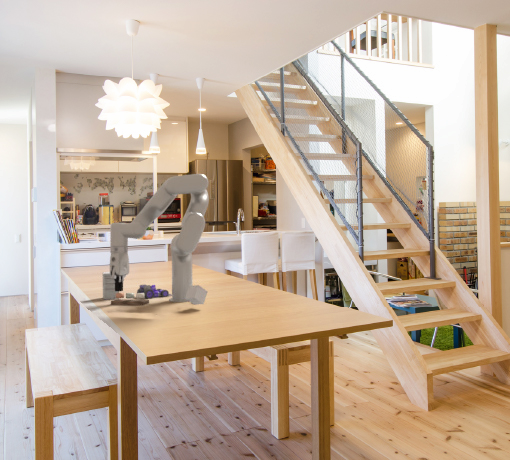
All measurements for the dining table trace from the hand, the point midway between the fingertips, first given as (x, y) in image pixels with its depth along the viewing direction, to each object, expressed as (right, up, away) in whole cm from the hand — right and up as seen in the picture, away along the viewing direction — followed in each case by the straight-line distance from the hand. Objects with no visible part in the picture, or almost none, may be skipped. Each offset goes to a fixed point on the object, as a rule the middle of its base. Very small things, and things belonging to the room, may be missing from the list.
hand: (118, 290), depth 215 cm
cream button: (+10, -3, -2) cm, 11 cm away
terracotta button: (0, -3, 0) cm, 3 cm away
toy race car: (+11, -6, +23) cm, 26 cm away
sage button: (+5, -3, -1) cm, 6 cm away
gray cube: (+36, -6, -7) cm, 37 cm away
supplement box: (-9, -6, +18) cm, 21 cm away
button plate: (+5, -6, -1) cm, 8 cm away
